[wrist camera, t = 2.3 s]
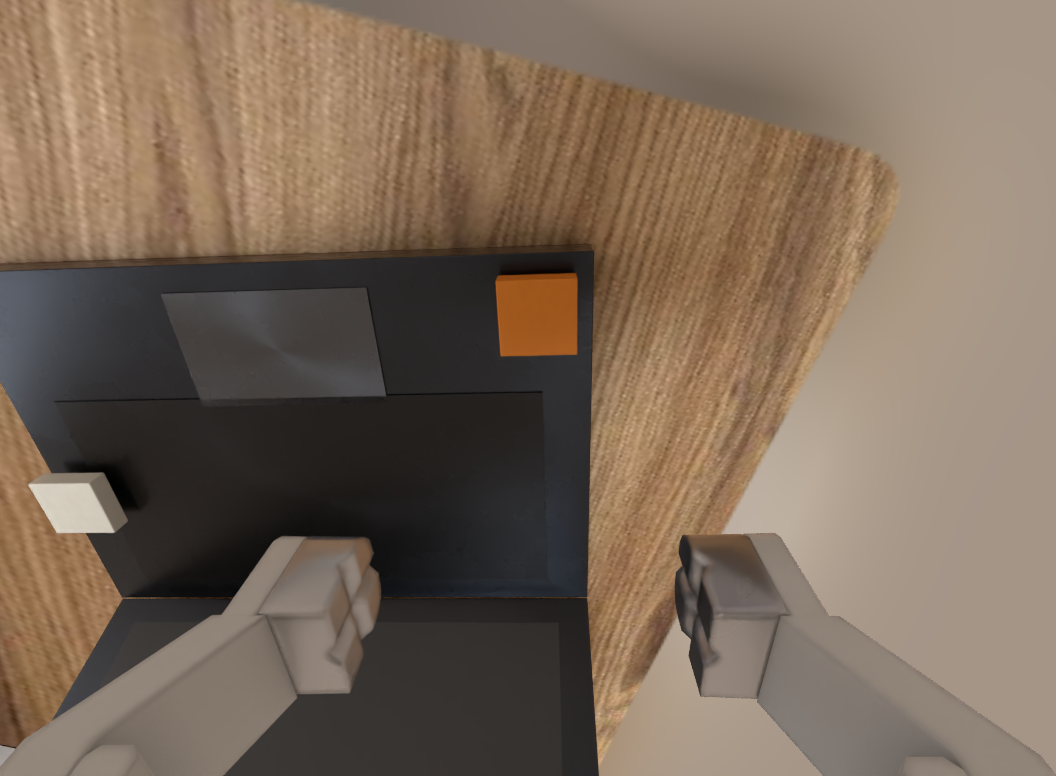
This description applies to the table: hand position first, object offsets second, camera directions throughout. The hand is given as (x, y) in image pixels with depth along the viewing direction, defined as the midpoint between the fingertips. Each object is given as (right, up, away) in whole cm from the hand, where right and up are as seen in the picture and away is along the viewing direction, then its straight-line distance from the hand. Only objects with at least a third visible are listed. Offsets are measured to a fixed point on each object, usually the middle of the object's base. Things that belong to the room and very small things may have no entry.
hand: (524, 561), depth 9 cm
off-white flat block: (-25, -3, +19) cm, 31 cm away
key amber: (0, +7, +14) cm, 15 cm away
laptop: (-12, 0, +19) cm, 23 cm away
